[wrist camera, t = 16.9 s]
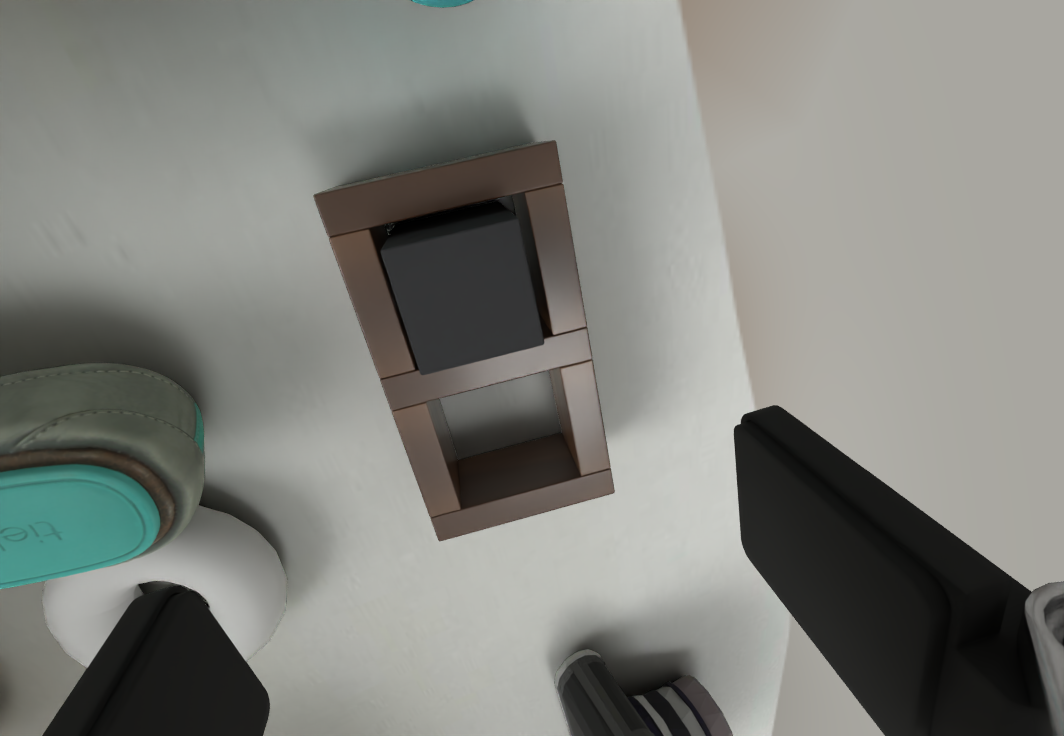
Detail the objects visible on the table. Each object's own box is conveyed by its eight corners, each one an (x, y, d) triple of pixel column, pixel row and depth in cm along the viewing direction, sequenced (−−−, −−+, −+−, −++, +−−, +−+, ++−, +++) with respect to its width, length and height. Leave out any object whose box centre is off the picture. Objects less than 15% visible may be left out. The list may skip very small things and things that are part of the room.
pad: (425, 323, 23) (421, 377, 18) (394, 224, 21) (379, 250, 16) (520, 299, 23) (545, 345, 18) (498, 200, 21) (518, 217, 16)
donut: (307, 629, 29) (280, 481, 25) (291, 688, 26) (258, 530, 22) (106, 650, 27) (42, 495, 23) (63, 716, 24) (-19, 550, 20)
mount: (591, 447, 27) (615, 493, 23) (438, 488, 26) (438, 542, 23) (535, 141, 21) (556, 139, 17) (334, 186, 20) (312, 194, 17)
